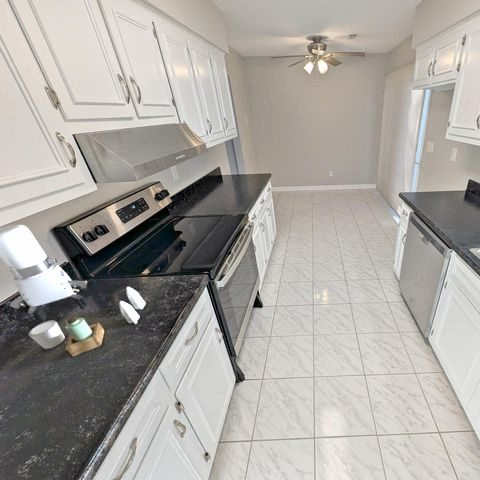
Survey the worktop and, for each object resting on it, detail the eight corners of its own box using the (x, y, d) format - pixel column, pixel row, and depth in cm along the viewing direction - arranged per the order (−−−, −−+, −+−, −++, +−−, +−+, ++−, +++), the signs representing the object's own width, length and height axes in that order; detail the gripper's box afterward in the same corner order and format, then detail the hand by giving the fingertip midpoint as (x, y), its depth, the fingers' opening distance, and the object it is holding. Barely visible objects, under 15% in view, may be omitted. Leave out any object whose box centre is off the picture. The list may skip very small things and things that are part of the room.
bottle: (78, 349, 83) (59, 324, 78) (81, 340, 87) (62, 315, 81) (95, 343, 85) (77, 318, 80) (98, 334, 89) (80, 309, 83)
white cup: (36, 347, 86) (23, 333, 83) (60, 332, 92) (49, 318, 88) (47, 353, 84) (34, 338, 80) (71, 336, 89) (60, 322, 86)
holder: (72, 356, 82) (65, 348, 80) (77, 340, 88) (71, 332, 86) (101, 345, 85) (95, 337, 83) (104, 330, 91) (98, 322, 89)
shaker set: (138, 303, 102) (126, 282, 97) (149, 301, 103) (137, 280, 98) (124, 326, 92) (110, 303, 87) (137, 323, 93) (123, 300, 87)
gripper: (74, 252, 78) (100, 296, 86) (-5, 272, 70) (32, 317, 79) (68, 263, 72) (97, 309, 80) (-18, 286, 65) (22, 333, 73)
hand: (64, 313), depth 79 cm, fingers open, 9 cm apart
